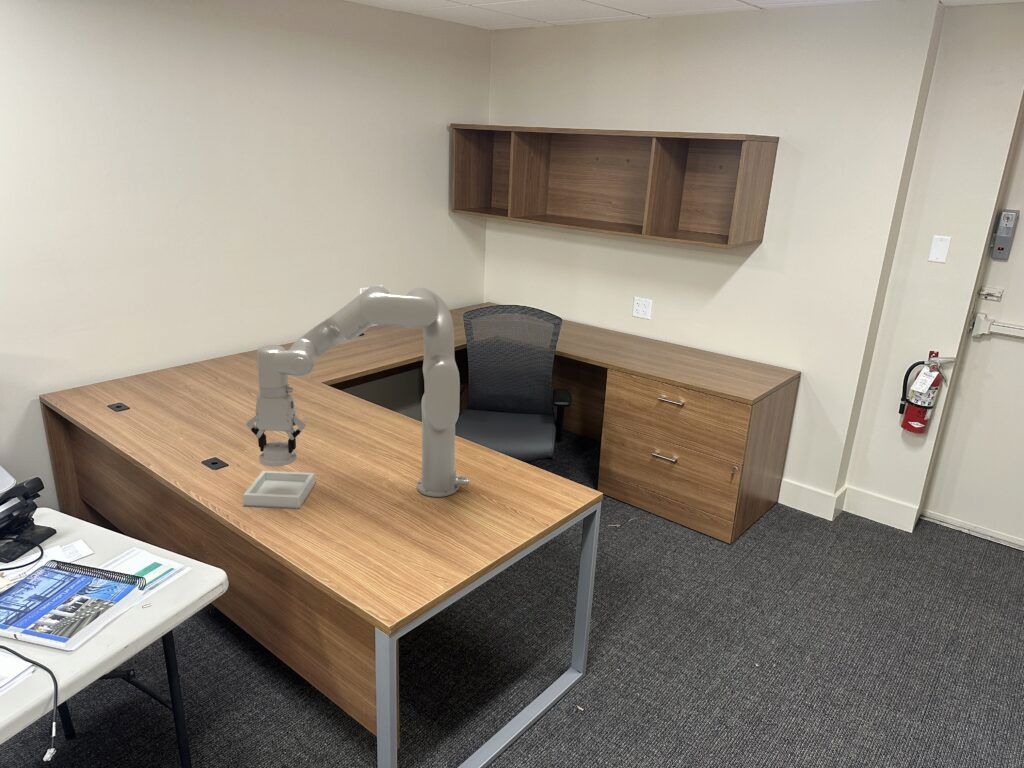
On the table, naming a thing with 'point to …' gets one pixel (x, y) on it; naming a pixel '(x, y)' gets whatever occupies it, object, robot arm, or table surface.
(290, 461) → the mechanical component
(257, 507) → the grey flat plate
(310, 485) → the tray
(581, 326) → the table surface
